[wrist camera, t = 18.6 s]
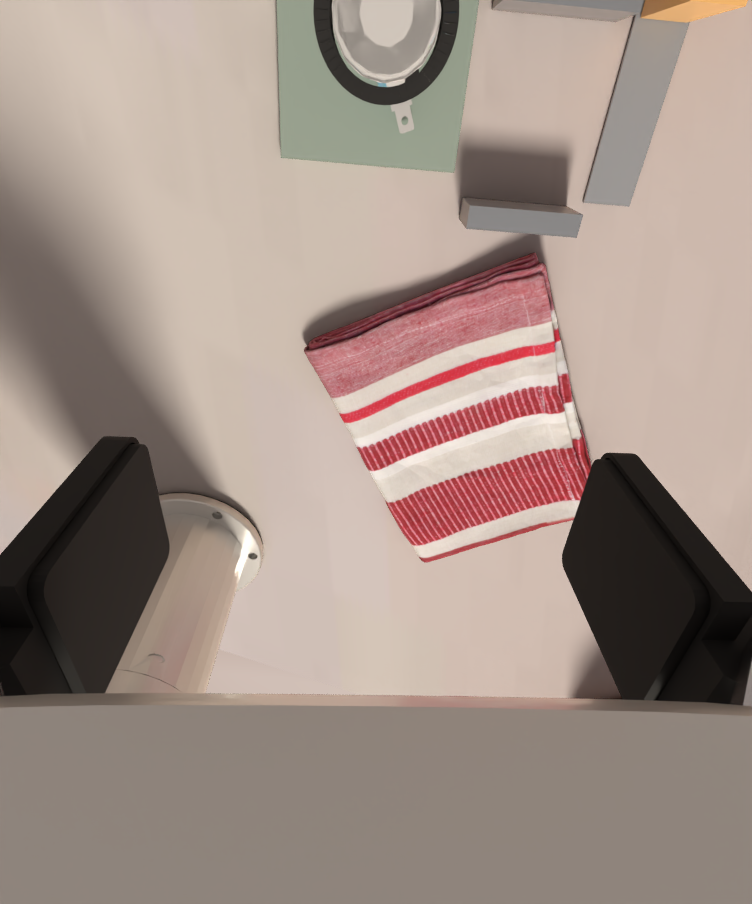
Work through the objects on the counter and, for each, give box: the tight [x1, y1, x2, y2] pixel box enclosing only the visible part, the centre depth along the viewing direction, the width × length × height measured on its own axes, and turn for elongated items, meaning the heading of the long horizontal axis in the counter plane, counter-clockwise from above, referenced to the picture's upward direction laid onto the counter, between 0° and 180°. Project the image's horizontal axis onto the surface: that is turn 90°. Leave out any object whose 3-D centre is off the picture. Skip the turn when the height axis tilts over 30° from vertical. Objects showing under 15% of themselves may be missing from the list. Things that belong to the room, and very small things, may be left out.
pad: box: [277, 0, 479, 173], centre depth 26 cm, size 10×10×1 cm
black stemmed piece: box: [313, 0, 459, 134], centre depth 22 cm, size 7×5×10 cm
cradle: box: [459, 0, 690, 238], centre depth 25 cm, size 10×19×3 cm, turn 176°
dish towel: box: [304, 253, 591, 562], centre depth 39 cm, size 17×23×3 cm
